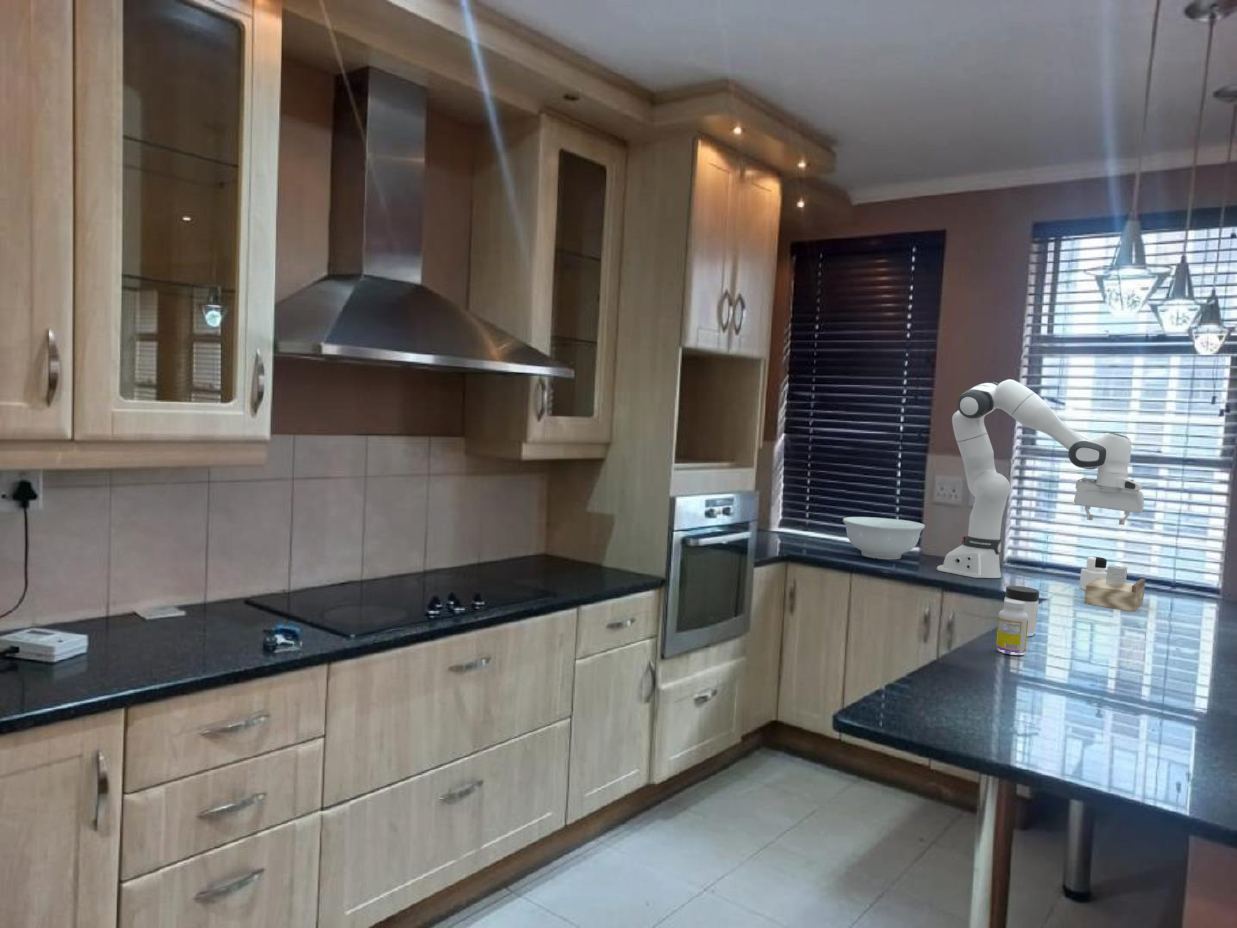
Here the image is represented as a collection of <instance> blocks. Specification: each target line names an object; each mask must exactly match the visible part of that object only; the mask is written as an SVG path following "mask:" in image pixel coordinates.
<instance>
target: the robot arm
mask: <svg viewBox="0 0 1237 928" xmlns="http://www.w3.org/2000/svg"><path fill="white" fill-rule="evenodd" d="M998 409H999V410H1002V411H1004V412H1005V413H1007V414H1008V415H1009V416H1010V417H1011V418H1013V419H1014V420H1015V421H1016V422H1018V423H1020V424H1022V425H1023V426H1024V427H1027V428H1029V429H1031V430H1036V431H1038V432H1041V433H1043V434H1045V435H1047V436H1049V437H1050V438H1052V439H1053V440H1055V441H1056V442H1058V444H1060V445H1061V446H1063V447H1064V448H1065V449H1066V450H1067V451H1068V456H1067V457H1068V460H1069V461H1070V462H1071V464H1072V465H1074V466H1075V467H1077V468H1079V469H1084V470H1095V469H1097V474H1096V478H1094V479H1093V478H1086V477H1085V478H1084V477H1082V478H1080V479H1078V480H1077V481H1076V482H1075V489H1076V490H1075V491H1076V492H1075V493H1074V500H1073V503H1074V504H1075V505H1077V506H1084V511H1085V513H1086V515H1087V517H1086V520H1088V521H1093V518H1094V515H1093V514H1091V512H1090V510H1091V508H1098V509H1107V510H1114V511H1120V512H1124V513H1123V514H1124V517H1123V518H1119V520H1118V525H1121V526H1125V523H1126V522H1125V521H1126V520H1127V519H1128V518H1129V516H1130V515H1131V513H1134V514H1141V513H1142V512H1143V511H1144V504H1145V500H1144V499H1145V498H1144V493H1143V492H1142V491H1141V490H1142V489H1143V484H1142V483H1140V482H1137V481H1134V480H1133V479H1130V478H1129V477H1128V476H1129V471H1128V467H1129V465H1130V463H1131V457H1132V456H1131V455H1132V441H1131V440H1130V438H1129V437H1128V436H1126V435H1123V434H1119V433H1115V432H1111V431H1110V432H1109V431H1108V432H1106V433H1104V434H1101V435H1100V436H1099V435H1098V436H1095V437H1093V438H1086V437H1083V436H1082V435H1080V434H1079V433H1078V432H1077V431H1075V430H1074V429H1072V428H1071V427H1070V426H1068V425H1067V424H1066V423H1064V422H1063V421H1062V419H1060V418H1059V417H1058V416H1057V414H1056V413H1055V411H1053V409H1052V408H1051V407H1050V406H1049V404H1048V403H1046V402H1045V401H1044V399H1042V398H1041V397H1040V395H1038V394H1037V393H1035V392H1034V391H1033V390H1031V389H1030V388H1028V387H1027V386H1026V385H1024V384H1022V383H1020V382H1018V381H1017V380H1015V379H1010V378H1009V379H1006V380H1003V381H1001V382H999V383H997V382H996V381H985V382H984V383H983V382H982V383H980V384H977V385H975V386H973V387H971V388H970V389H968V390H966V391H964V392H963V393H961V395H960V396H959V397H958V400H957V411H955V412H954V413H953V415H952V417H951V422H952V429H953V434H954V438H955V440H956V443H957V446H958V449H959V452H960V456H961V458H962V461H963V467H964V473H965V478H966V482H967V487H968V488H967V489H968V490H969V492H970V494H971V495H972V496H974V497H975V498H974V502H973V506H972V509H971V512H970V514H969V521H968V533H967V535H965V536H963V537H962V538H961V545H959V546H958V547H956V548H953V549H952V550H951V551H949V552H948V553H946V555H945V557H944V561H943V564H941V565H938V566H937V567H936V570H937V571H939V572H945V573H949V574H954V575H958V576H965V577H970V578H974V579H975V578H978V579H979V578H981V579H983V578H985V579H1000V578H1002V574H1001V569H1000V565H1001V564H1000V554H1001V551H1002V550H1001V549H1002V539H1001V531H1002V520H1003V514H1004V513H1005V508H1006V504H1007V500H1008V496H1009V495H1010V494H1011V490H1012V488H1011V484H1010V481H1009V480H1008V478H1006V477H1005V476H1004V475H1003V474H1002V473H999V472H997V470H996V465H995V457H994V455H995V452H994V449H993V446H992V443H991V440H990V437H989V434H988V433H989V432H988V431H987V429H986V425H985V417H986V416H987V415H990V414H991V413H993V412H995V411H996V410H998Z"/></svg>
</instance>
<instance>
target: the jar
mask: <svg viewBox="0 0 1237 928" xmlns="http://www.w3.org/2000/svg"><path fill="white" fill-rule="evenodd" d="M1039 598H1040V591H1039V589H1036V588H1032V587H1026V586H1019V585H1007V586H1006V588H1005V597H1004V598H1003V599H1004V600H1007V599H1009V600H1018V601H1022V602H1025V608H1024V612H1025V613H1026V614H1027V615H1028V629H1027V633H1034V632H1035V631H1036V632H1037V624H1038V615H1039V613H1038V612H1039V603H1040V602H1039ZM1004 608H1005V606H1004V605H1003V609H1004Z"/></svg>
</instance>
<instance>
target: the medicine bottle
mask: <svg viewBox="0 0 1237 928" xmlns="http://www.w3.org/2000/svg"><path fill="white" fill-rule="evenodd" d="M1086 558H1087V559H1086V568H1081V569H1080V576H1079V577H1080V578H1079V589H1081V590H1083V591H1084V592H1085V591H1086V585H1087V584H1089V583H1090V582H1092V581H1093V580H1095V579H1096V578H1101V579H1106V577H1107V563H1108V560H1107V559H1106V558H1105V557H1101V556H1088V557H1086Z"/></svg>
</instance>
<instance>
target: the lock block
mask: <svg viewBox="0 0 1237 928" xmlns="http://www.w3.org/2000/svg"><path fill="white" fill-rule="evenodd" d="M1106 572H1107V577H1106V585H1111V586H1117V587H1124V586H1126V582H1127V574H1128V567H1127V566H1120V565H1114V564H1112V565H1111V564H1109V565H1107V566H1106Z"/></svg>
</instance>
